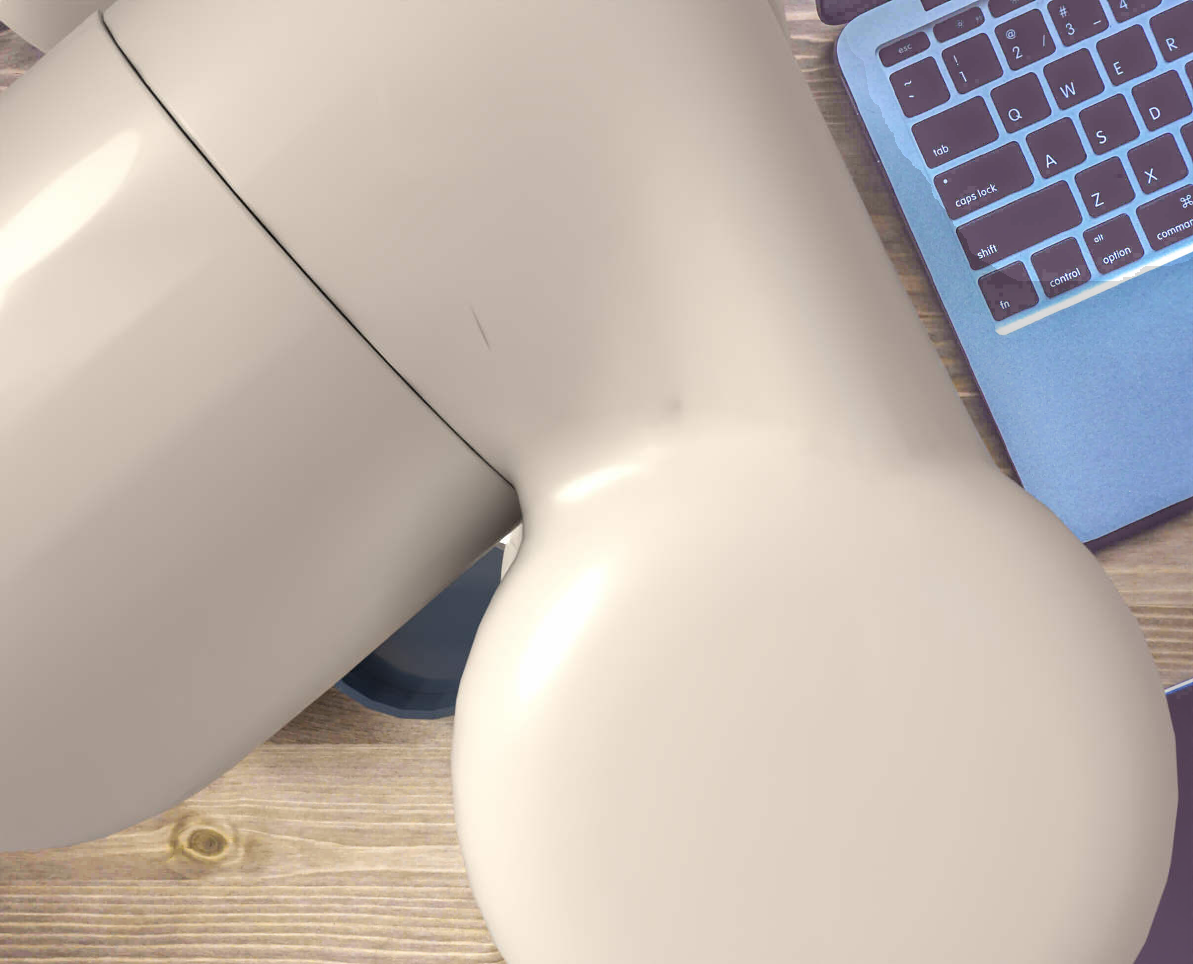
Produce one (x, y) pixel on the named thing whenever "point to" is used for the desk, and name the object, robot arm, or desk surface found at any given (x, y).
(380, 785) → the desk surface
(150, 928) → the desk surface
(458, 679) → the bowl
